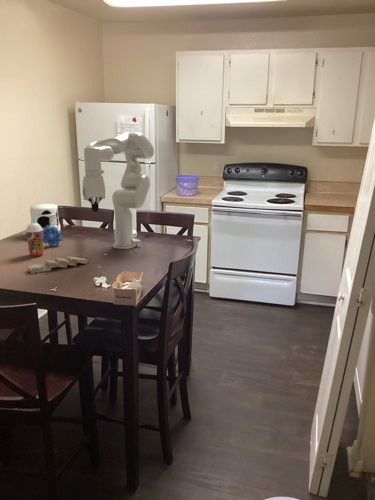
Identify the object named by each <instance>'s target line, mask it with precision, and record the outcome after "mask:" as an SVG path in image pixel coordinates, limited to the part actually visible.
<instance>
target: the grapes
mask: <svg viewBox="0 0 375 500" xmlns="http://www.w3.org/2000/svg"><path fill="white" fill-rule="evenodd" d="M45 228H46V229H45ZM45 228H42V229H43V244H47V245H49V246H50V247H54V246H59V245H60V242H62V241H63V237H62V232H61V230H60V231H57V228H56V227H54V226H53V227H50V226H49V225H47V226H46V227H45Z"/></svg>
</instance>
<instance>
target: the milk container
mask: <svg viewBox="0 0 375 500" xmlns="http://www.w3.org/2000/svg"><path fill="white" fill-rule="evenodd" d="M29 207H30V209H29V211H30V224H31V223H33V217H34V223H38V224H39V225H40V226H41V227H42V228H45V227H46V226H47V225H49V226H50V227H53V226H54V227H56V228H57V231H60V232H61V224H60V220H59V212H58V205H57V204H53V203H39V204H32V205H30V206H29ZM45 229H46V228H45Z"/></svg>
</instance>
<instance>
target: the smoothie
mask: <svg viewBox="0 0 375 500" xmlns="http://www.w3.org/2000/svg"><path fill="white" fill-rule="evenodd" d="M25 234H26V241H27V245H28V251H29V255H30V256H31V257H32V258H38V257H41V256H43V254H44V242H43V239H44V238H43V229H42V227H41V226H40V225H39V224H38V223H34V217H33V223H31V222H30V223H29V224H28V225H27V226H26V229H25Z"/></svg>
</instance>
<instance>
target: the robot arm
mask: <svg viewBox="0 0 375 500" xmlns="http://www.w3.org/2000/svg"><path fill="white" fill-rule="evenodd" d="M123 152H124V157H125V161H126V166H125V169H124V173H123V176H122V177H121V182H120V187H121V188H122V189H116V190H115V191H113V193H112V196H111V200H112V204H113V210H114V228H115V229H114V230H115V231H114V232H115V234H114V235H115V242H114V243H113V244H112V247H113V248H114V249H119V250H128V249H129V250H130V249H133V248H136V246H137V244H142V241H141V239H135V238H134V236H133V235H134V232H133V213H132V211H131V209H137V210H138V209H142V207H143V206H144V204H145V201H146V198H147V195H148V192H149V191H150V190H149V189H150V185H151V182H150V181H151V180H150V177H149V176H148V175H147V174H144V173H142V166H141V163H140V162H139V161H138V159H141V160H143V159H144V160H145V159H146V160H147V159H151V158H153V156H154V153H155V149H154V145H153V144H152V143H151V141H150V140H149V139H148V138H147V136H146V135H144V133H142V132H139V131H124V132H121V133H119V134H117V135H115V136H113V137H110V138H106V139H101V140H97V141H93V142H91V143H90V144H87V145H86V147H84V149H83V154H84V174H85V175H84V176H83V177H82V178H83V179H82V196H83V200H84V201H88V202H89V203H90V206H91V211H92V212H94V213H98V212H99V209H100V208H99V204H100V202H101V201H102V200H104V199H106V186H105V179H104V176H103V174H105V170H102V162H107V163H108V162H110V161H112V160H113V158H114V155H119V154H121V153H123Z"/></svg>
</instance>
